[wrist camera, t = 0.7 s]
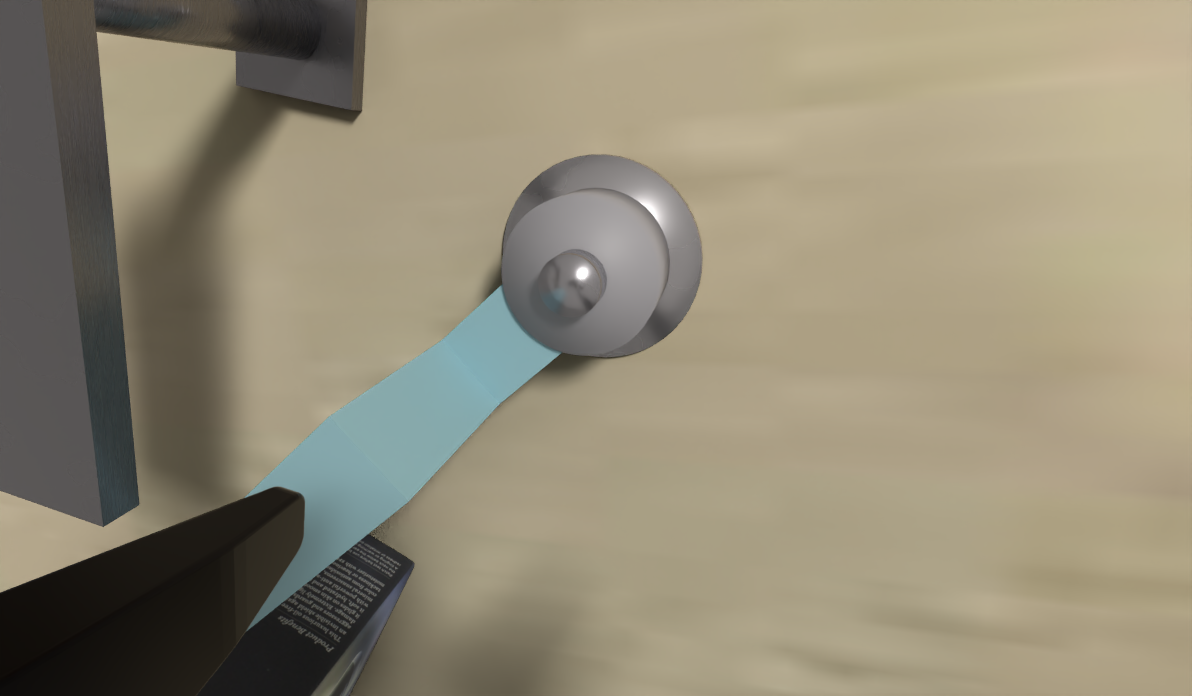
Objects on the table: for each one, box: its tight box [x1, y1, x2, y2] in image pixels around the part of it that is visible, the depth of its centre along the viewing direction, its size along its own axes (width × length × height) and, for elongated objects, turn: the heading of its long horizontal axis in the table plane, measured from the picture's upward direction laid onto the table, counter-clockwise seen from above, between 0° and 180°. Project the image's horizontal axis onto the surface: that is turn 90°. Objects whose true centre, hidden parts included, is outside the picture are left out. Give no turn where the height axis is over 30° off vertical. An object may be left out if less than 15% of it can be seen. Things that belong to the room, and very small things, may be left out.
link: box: [245, 188, 670, 631], centre depth 20 cm, size 15×5×8 cm, turn 132°
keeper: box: [0, 0, 367, 527], centre depth 18 cm, size 14×5×11 cm, turn 169°
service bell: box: [503, 155, 702, 357], centre depth 20 cm, size 7×7×4 cm
